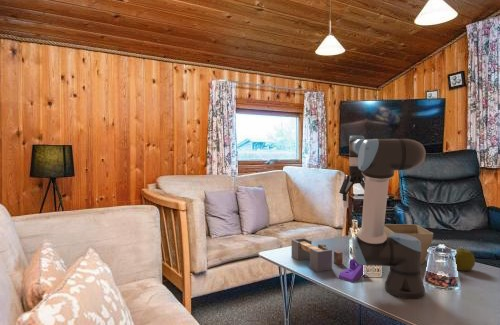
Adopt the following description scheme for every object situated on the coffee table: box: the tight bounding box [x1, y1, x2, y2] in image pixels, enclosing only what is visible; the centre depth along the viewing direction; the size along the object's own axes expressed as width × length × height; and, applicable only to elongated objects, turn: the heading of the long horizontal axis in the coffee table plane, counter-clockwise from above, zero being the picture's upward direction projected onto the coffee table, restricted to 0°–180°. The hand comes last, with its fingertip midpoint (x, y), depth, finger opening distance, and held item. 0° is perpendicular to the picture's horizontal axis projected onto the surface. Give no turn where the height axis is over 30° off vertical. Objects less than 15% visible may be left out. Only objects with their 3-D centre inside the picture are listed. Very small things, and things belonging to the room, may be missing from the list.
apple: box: [455, 248, 476, 272], centre depth 165 cm, size 10×10×11 cm
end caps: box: [291, 237, 333, 273], centre depth 176 cm, size 24×8×10 cm, turn 24°
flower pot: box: [384, 223, 434, 265], centre depth 178 cm, size 19×19×17 cm
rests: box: [317, 243, 344, 266], centre depth 181 cm, size 17×3×6 cm, turn 24°
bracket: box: [338, 257, 363, 283], centre depth 158 cm, size 12×7×7 cm, turn 135°
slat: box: [300, 241, 323, 253], centre depth 176 cm, size 18×4×2 cm, turn 24°
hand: (356, 206), depth 178 cm, fingers open, 13 cm apart
